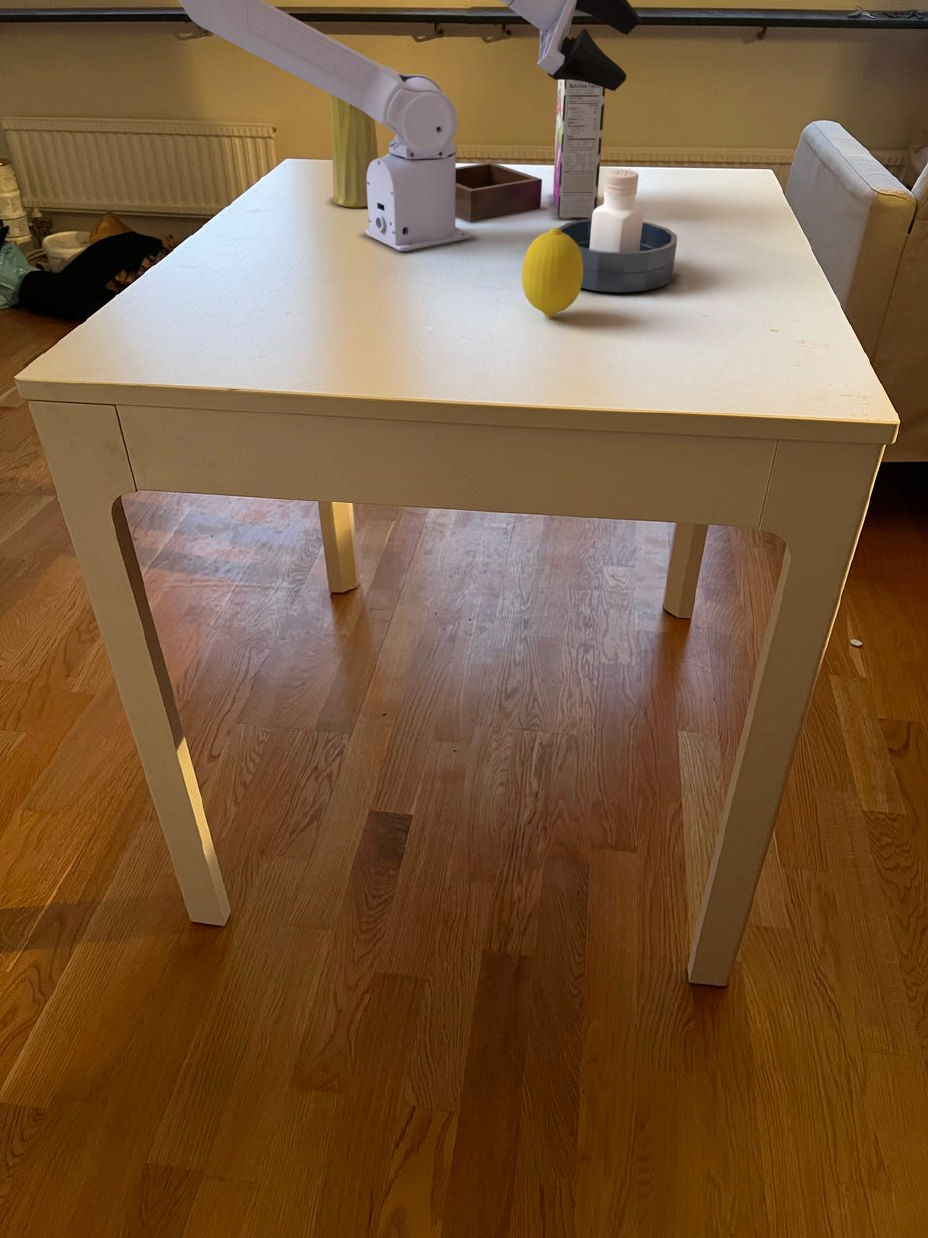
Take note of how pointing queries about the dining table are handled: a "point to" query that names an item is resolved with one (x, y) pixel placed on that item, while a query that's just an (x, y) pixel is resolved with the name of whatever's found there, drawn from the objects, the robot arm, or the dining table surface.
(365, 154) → the vase
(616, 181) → the white bottle
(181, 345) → the dining table surface
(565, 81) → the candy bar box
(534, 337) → the dining table surface
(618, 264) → the bowl
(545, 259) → the lemon
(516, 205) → the box
